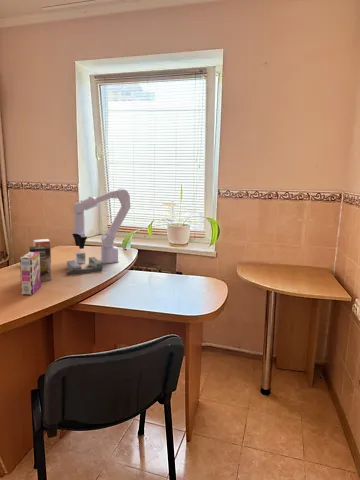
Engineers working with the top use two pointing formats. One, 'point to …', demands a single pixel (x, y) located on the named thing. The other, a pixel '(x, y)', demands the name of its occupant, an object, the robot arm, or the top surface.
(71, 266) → the grey rectangular bar
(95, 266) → the vise
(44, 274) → the coffee box
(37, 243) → the small box
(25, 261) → the candy bar box
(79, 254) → the steel block
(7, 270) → the top surface
